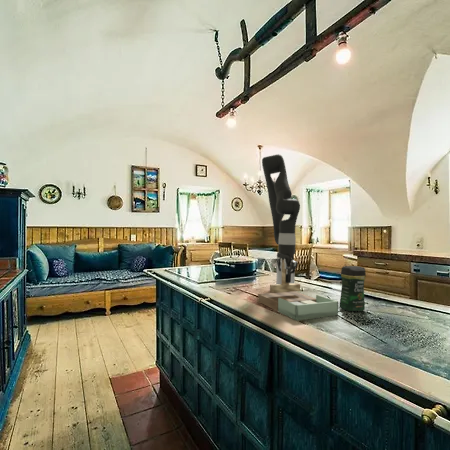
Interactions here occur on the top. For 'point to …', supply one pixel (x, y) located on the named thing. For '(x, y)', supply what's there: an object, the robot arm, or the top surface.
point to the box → (309, 308)
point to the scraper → (284, 284)
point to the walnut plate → (272, 298)
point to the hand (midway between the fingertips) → (286, 281)
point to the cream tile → (307, 302)
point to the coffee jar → (352, 288)
